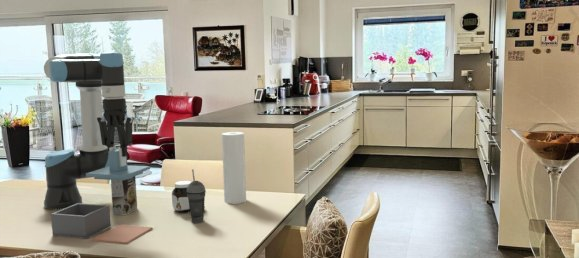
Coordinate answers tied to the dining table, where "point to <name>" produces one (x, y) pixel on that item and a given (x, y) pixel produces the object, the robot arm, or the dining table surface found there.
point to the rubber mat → (122, 234)
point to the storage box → (81, 220)
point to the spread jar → (181, 197)
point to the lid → (117, 169)
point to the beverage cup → (196, 200)
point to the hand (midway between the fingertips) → (118, 165)
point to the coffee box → (124, 196)
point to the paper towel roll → (234, 167)
